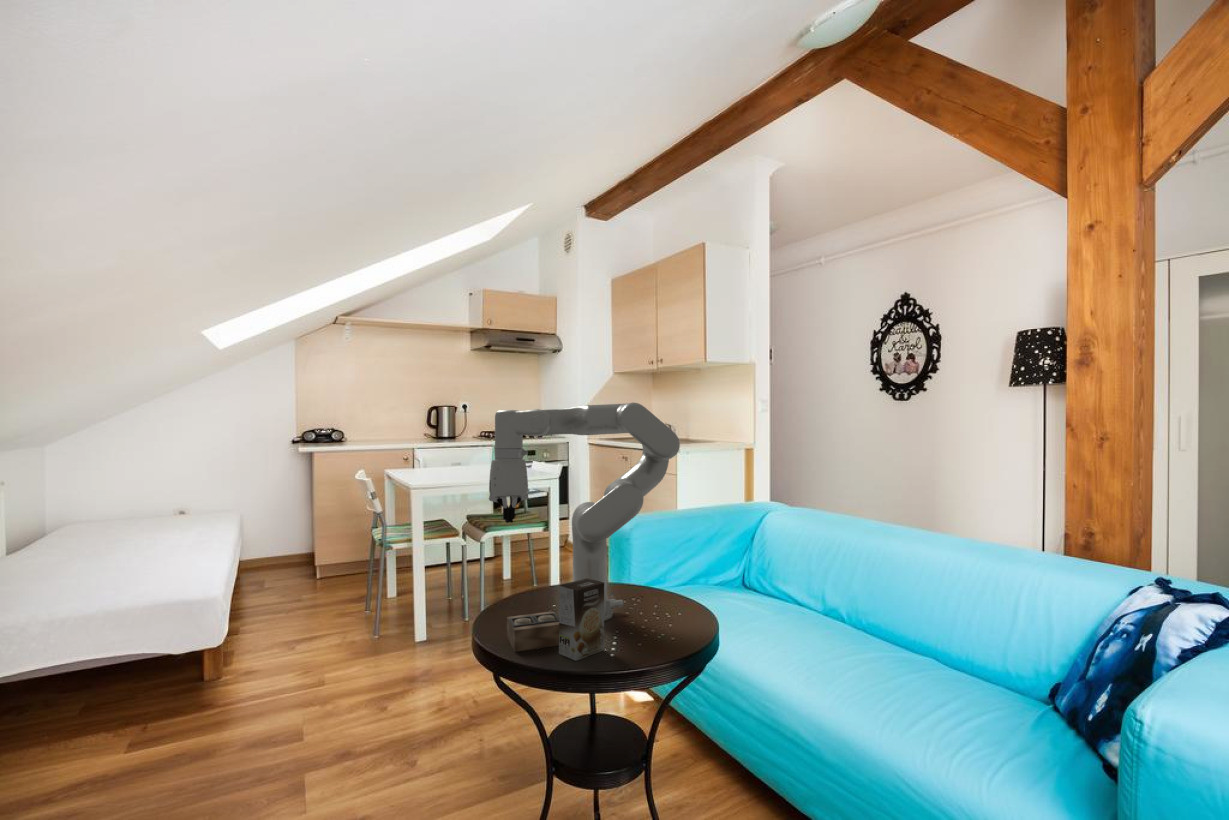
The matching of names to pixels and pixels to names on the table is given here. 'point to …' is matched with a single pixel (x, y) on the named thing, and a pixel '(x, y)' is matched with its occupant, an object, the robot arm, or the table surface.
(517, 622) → the peg outer
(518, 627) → the press block
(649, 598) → the table surface
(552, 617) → the peg inner
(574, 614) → the cookie box
